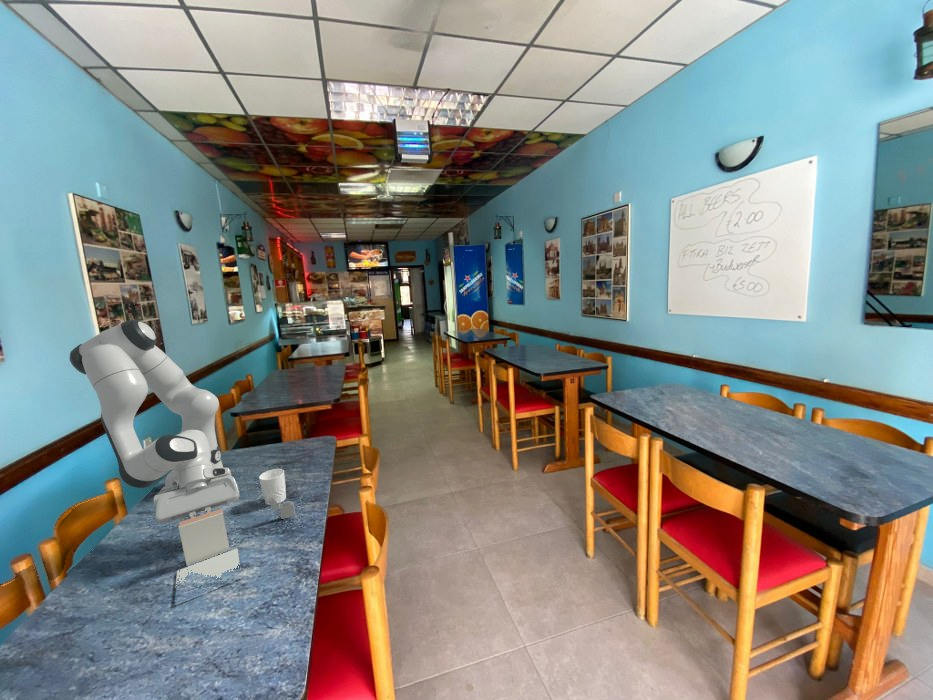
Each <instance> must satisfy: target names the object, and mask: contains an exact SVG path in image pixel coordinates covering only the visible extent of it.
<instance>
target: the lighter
mask: <svg viewBox="0 0 933 700" xmlns="http://www.w3.org/2000/svg"><path fill="white" fill-rule="evenodd" d="M268 503H269V504H270V505H269V506H271V507H272V508H273V510H274V511H277V510H279V513H280V519H284V518H288V519H290V518H289V517H291V518H294V517H293V516H295V517H296V511H295V503H294V501H290V500H287V501H283V502H282V504H280V503H279V504H278V503H277V502H276V501H275V500H274V499H273V498H272V497H271V498H270V499H268ZM284 520H285V519H284Z"/></svg>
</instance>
